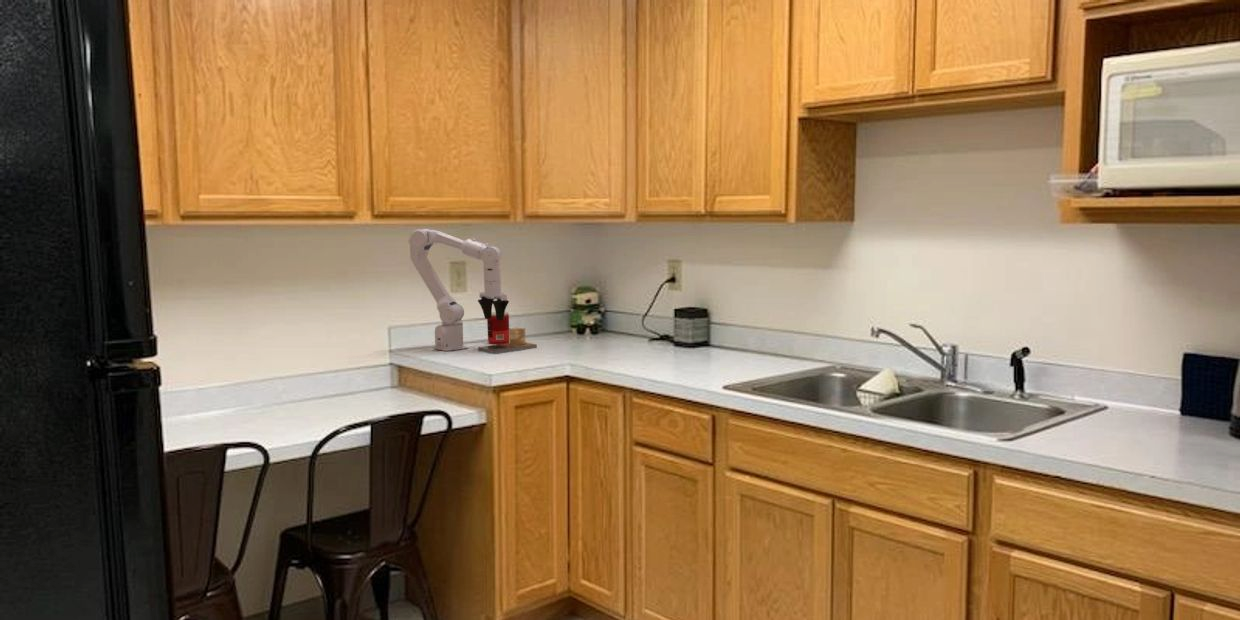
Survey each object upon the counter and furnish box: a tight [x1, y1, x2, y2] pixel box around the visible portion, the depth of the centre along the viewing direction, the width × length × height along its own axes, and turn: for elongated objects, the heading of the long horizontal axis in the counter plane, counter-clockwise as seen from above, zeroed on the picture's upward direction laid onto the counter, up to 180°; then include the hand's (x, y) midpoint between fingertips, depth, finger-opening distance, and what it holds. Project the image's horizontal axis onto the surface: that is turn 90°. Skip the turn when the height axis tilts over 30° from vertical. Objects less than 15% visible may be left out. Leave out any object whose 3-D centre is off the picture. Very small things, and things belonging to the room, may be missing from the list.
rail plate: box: [477, 341, 538, 355], centre depth 319 cm, size 18×10×1 cm, turn 131°
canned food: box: [486, 311, 510, 345], centre depth 334 cm, size 8×8×11 cm
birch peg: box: [509, 326, 526, 346], centre depth 321 cm, size 4×4×7 cm
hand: (493, 319), depth 319 cm, fingers open, 7 cm apart
